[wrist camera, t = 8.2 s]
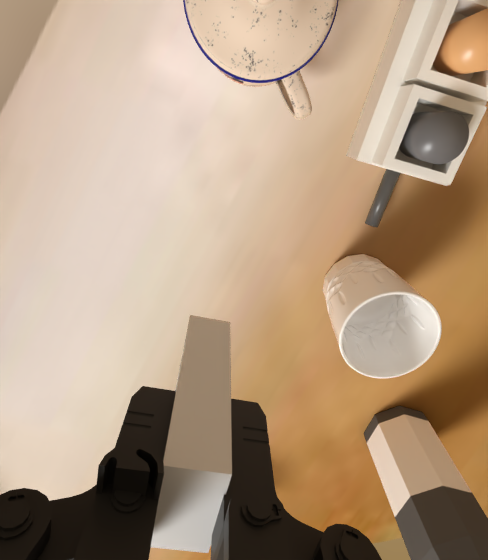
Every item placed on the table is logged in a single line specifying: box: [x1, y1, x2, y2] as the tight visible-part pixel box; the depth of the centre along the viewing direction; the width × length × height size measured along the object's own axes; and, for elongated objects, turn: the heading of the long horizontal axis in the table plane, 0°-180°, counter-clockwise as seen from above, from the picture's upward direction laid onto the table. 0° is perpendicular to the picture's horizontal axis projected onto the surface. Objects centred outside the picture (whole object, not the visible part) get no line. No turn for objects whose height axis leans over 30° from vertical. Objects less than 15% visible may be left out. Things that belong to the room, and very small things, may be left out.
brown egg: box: [433, 9, 488, 76], centre depth 26 cm, size 3×3×4 cm
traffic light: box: [346, 0, 488, 227], centre depth 29 cm, size 8×24×6 cm, turn 165°
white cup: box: [323, 254, 442, 378], centre depth 35 cm, size 8×8×10 cm
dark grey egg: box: [399, 112, 469, 164], centre depth 28 cm, size 3×3×4 cm
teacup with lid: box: [183, 0, 338, 120], centre depth 25 cm, size 12×9×12 cm
